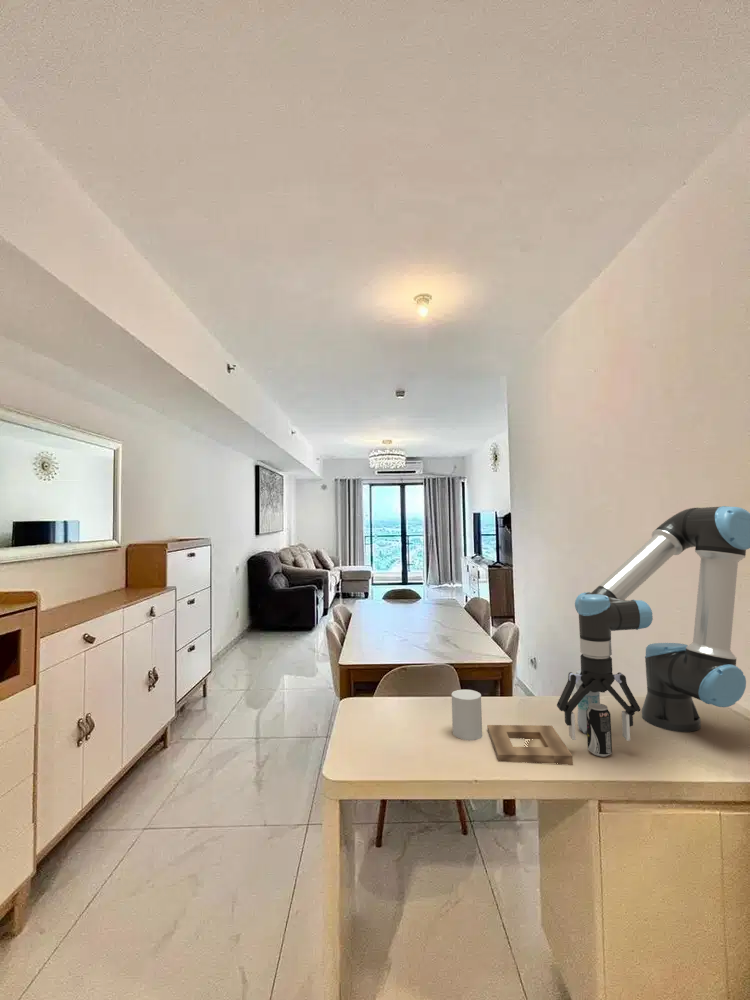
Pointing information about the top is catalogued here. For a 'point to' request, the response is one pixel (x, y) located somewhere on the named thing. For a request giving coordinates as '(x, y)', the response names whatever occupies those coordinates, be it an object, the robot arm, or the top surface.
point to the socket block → (529, 744)
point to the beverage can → (599, 729)
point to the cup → (466, 714)
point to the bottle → (585, 705)
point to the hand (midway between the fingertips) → (599, 738)
